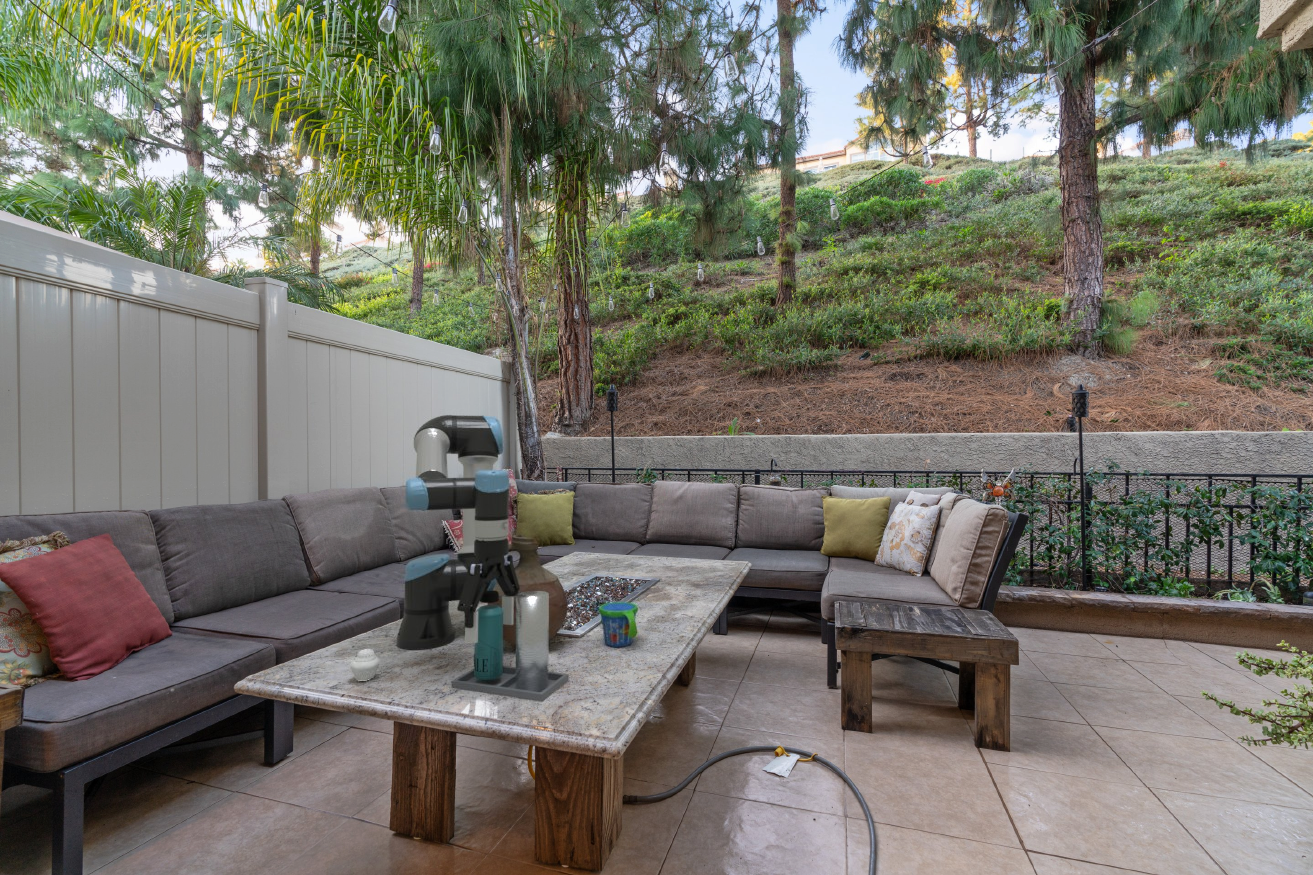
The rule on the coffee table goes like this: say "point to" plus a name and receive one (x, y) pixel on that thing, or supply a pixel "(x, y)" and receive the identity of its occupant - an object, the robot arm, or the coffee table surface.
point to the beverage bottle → (489, 639)
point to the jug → (534, 586)
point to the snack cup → (618, 623)
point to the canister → (532, 640)
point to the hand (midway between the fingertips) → (490, 632)
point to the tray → (508, 684)
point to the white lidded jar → (365, 665)
